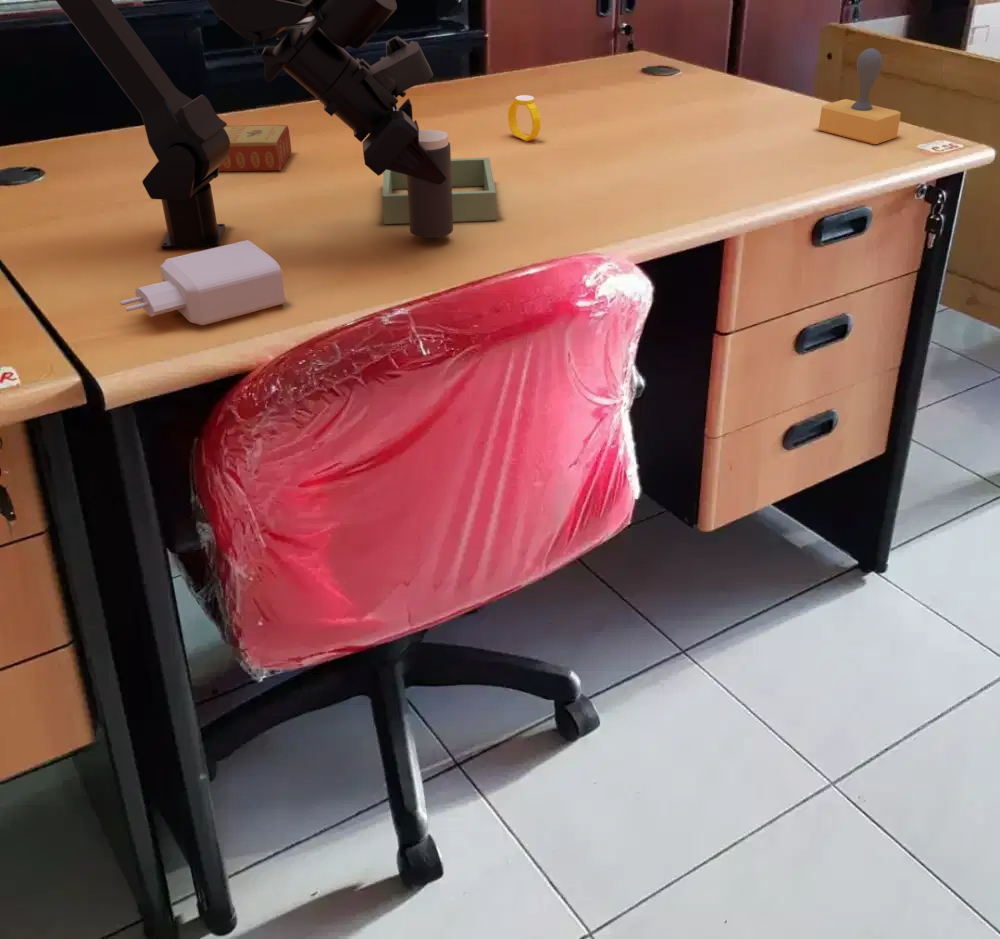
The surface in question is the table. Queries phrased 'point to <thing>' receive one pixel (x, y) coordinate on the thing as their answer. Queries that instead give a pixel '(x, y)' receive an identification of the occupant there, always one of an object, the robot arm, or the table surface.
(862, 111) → the rubber stamp
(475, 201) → the box
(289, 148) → the carton
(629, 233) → the table surface
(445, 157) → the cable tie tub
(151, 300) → the charger
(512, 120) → the watch
